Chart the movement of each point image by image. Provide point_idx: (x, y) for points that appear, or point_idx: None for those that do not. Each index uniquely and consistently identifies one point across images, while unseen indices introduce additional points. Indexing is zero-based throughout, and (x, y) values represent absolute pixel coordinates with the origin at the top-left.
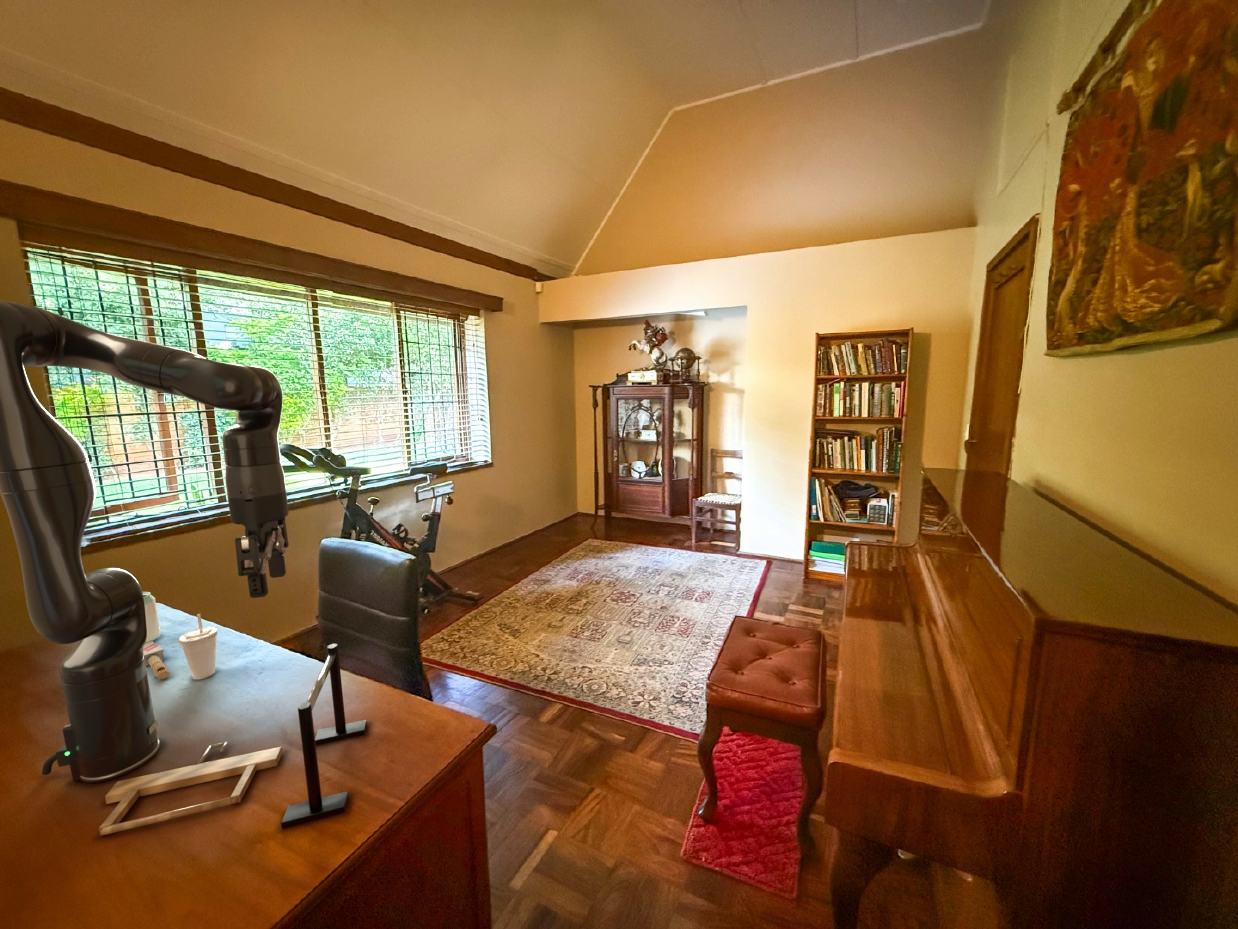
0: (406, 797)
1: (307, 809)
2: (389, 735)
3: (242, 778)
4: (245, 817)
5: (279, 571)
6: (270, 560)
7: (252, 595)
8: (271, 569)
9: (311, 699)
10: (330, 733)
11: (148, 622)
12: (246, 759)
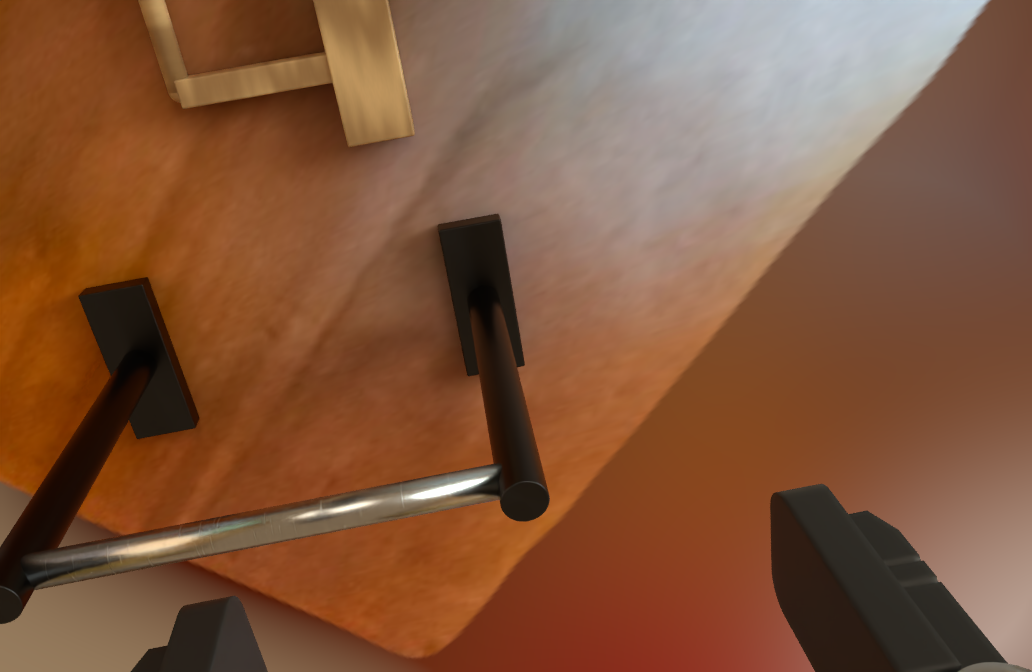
0: None
1: (127, 347)
2: (451, 441)
3: (259, 75)
4: (129, 155)
5: (797, 605)
6: (872, 666)
7: (147, 660)
8: (816, 566)
9: (89, 575)
10: (470, 272)
11: None
12: (357, 34)
